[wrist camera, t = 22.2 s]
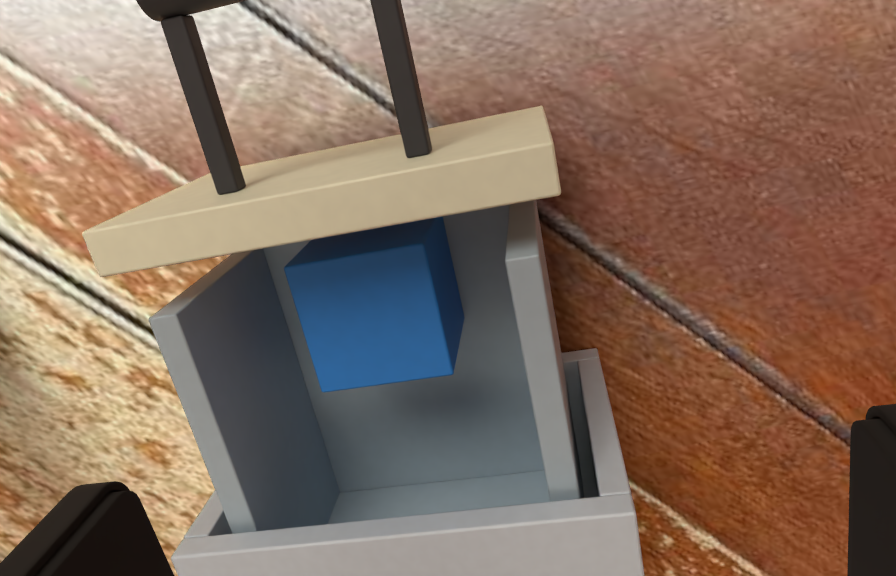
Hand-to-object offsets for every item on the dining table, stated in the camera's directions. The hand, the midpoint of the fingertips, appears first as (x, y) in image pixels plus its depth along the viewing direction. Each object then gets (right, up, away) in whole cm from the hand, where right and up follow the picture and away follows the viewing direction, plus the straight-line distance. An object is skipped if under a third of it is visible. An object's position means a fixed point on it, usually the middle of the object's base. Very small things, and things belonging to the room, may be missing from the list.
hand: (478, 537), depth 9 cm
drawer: (-2, +5, +14) cm, 15 cm away
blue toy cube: (-2, +4, +14) cm, 14 cm away
